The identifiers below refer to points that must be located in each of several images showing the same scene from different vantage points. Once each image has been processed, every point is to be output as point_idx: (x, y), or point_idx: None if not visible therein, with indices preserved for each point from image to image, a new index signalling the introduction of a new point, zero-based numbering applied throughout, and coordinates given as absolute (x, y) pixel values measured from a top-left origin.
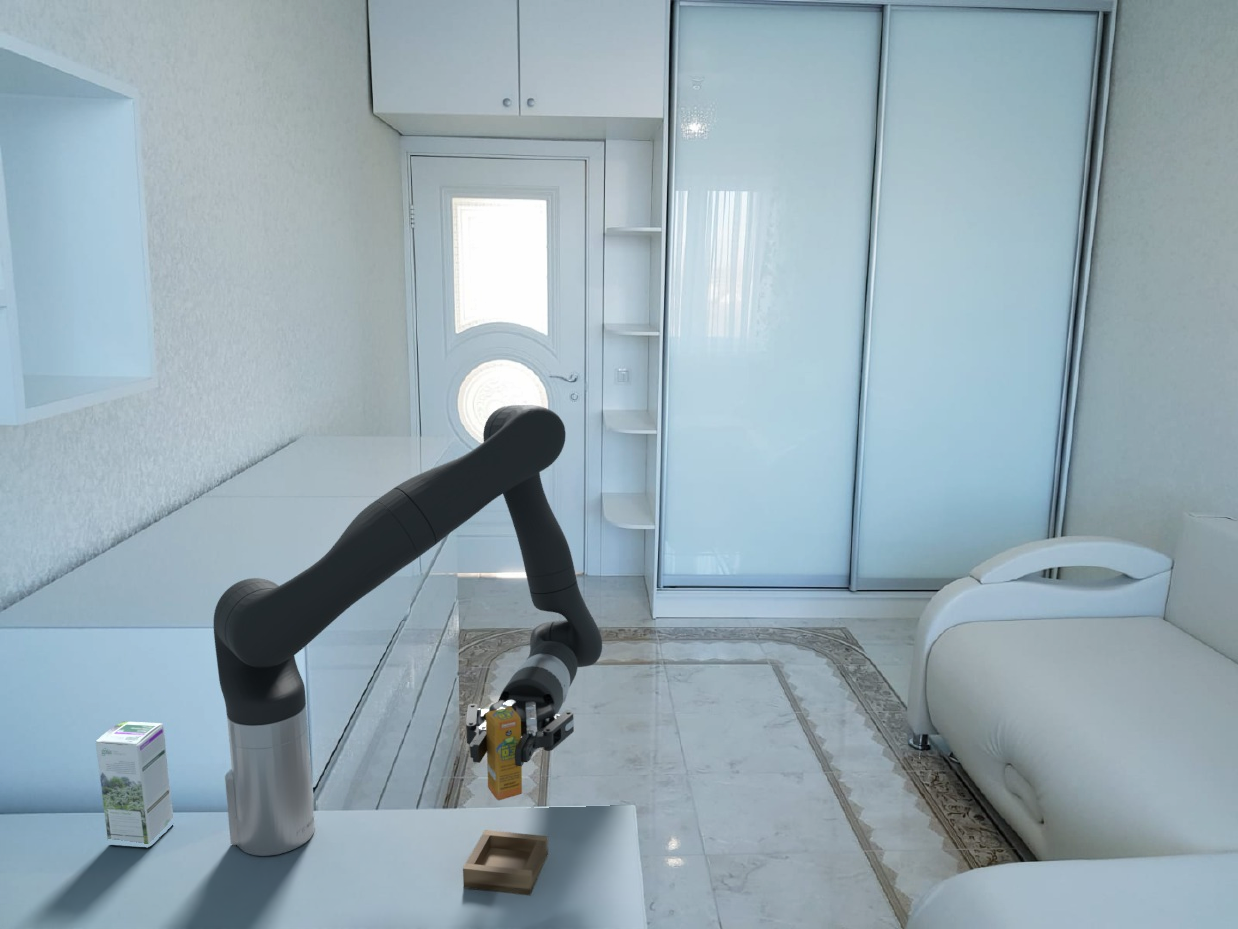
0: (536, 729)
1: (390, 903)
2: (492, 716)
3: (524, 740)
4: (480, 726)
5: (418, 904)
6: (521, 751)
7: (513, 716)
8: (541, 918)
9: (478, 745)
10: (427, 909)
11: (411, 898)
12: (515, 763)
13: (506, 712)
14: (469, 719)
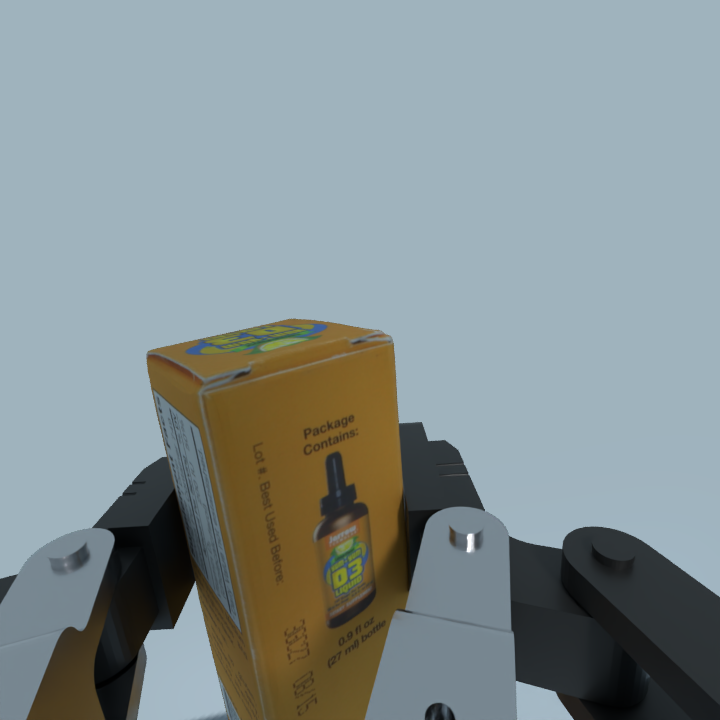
0: (21, 578)
1: None
2: (326, 322)
3: (155, 477)
4: (498, 535)
5: (528, 698)
6: None
7: (191, 341)
8: (224, 716)
9: None
10: None
11: (562, 717)
12: None
13: (239, 341)
14: (712, 618)
